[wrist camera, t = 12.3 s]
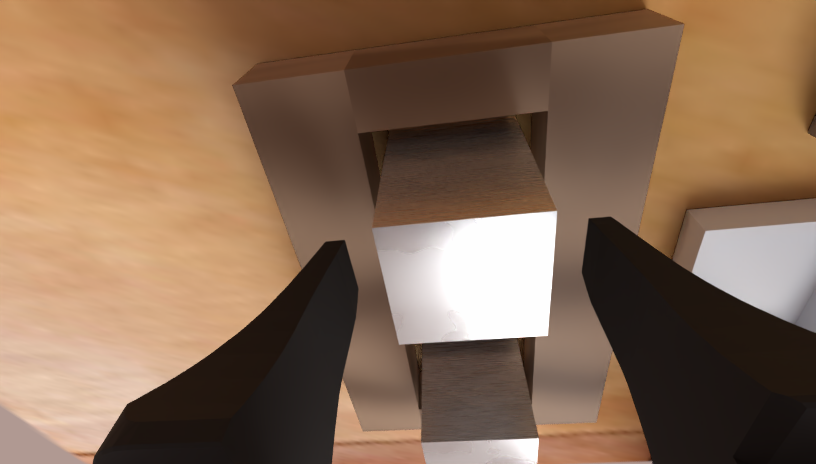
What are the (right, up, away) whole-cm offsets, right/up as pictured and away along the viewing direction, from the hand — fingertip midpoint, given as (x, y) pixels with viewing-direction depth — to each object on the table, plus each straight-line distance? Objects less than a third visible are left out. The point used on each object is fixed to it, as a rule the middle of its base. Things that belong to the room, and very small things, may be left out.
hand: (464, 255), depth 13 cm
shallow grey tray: (+14, -1, +7) cm, 16 cm away
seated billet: (+2, -5, +10) cm, 11 cm away
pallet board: (+1, -1, +7) cm, 7 cm away
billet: (0, +3, +4) cm, 5 cm away
